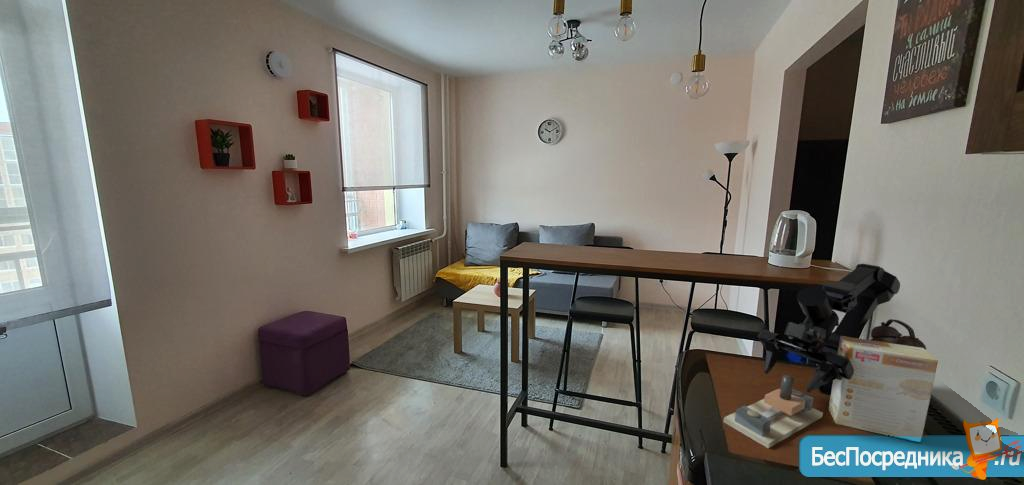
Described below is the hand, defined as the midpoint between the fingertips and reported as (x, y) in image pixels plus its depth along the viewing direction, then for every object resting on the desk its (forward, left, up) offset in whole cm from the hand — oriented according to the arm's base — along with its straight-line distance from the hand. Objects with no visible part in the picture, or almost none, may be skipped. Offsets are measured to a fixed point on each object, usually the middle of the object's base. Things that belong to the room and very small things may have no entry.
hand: (785, 381), depth 93 cm
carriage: (-1, -1, -6) cm, 6 cm away
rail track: (+2, +3, -9) cm, 9 cm away
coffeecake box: (-19, -4, -9) cm, 21 cm away
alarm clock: (-30, -23, -9) cm, 39 cm away
